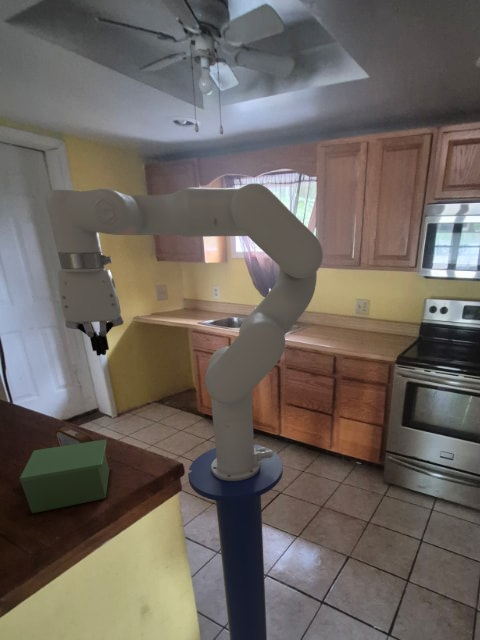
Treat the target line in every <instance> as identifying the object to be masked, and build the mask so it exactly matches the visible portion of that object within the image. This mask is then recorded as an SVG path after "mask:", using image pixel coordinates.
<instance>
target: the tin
mask: <svg viewBox="0 0 480 640" xmlns="http://www.w3.org/2000/svg"><path fill="white" fill-rule="evenodd" d="M54 434H55V437H56V440H57V442H58V447H60V446H66V445H73V444H79V443H86V442H92V441H95V439H94V438H93V437H92V436H91V435H90V434H89V433H87V432H85V431H82V430H80V429H78V428H75V427H74V426H71V425H68V424H66V425H64V426H63V427H60V428H59V429H57V430H56V431H55V433H54Z"/></svg>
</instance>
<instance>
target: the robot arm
mask: <svg viewBox="0 0 480 640" xmlns="http://www.w3.org/2000/svg"><path fill="white" fill-rule="evenodd" d="M44 197H45V198H44V199H45V204H46V209H47V212H48V218H49V222H50V226H51V230H52V234H53V238H54V239H53V240H54V243H55V247H56V252H57V255H58V260H59V263H60V264H59V265H60V268H61V270H58V273H57V276H58V289H59V295H60V297H59V298H60V302H61V308H62V313H63V317H64V319H65V327H66V328H67V329H71V330H72V329H73V330H79V331H80V332H82V333H83V334H85V335H86V336H87V337H89V340H90V345H91V349H92V352H95V354H96V356H97V357H99V356H101V355H102V356H106V355H107V351H109V350H110V346H109V341H108V336H107V335H108V333H109V332H110V331H111V330H112V329H113V328H115V327H119V326H122V325H123V324H124V319H123V316H122V315H121V305H120V301H119V296H118V292H117V288H116V284H115V281H114V278H113V274H112V273H111V270H110V269H107V268H106V265H109V264H113V259H112V256H111V255H110V256H107V255H105V254H104V253H103V250H102V245H101V244H102V243H101V240H100V235H99V234H105V235H111V236H182V237H186V238H193V237H195V238H198V237H200V238H201V237H203V238H204V237H205V238H206V237H210V238H211V237H248V238H249V239H250V241H252V242H253V243H254V244H255V245H256V246H257V247H258V248H259V249H260V250H262V252H264V254H266V255H267V256H268V257H269V258H270V259H271V260H272V261H273V262H274V263H275V264H276V265H277V266H278V267H279V273H278V277H277V280H276V282H275V283H274V285H273V286H272V288H271V289H270V290H269V292H268V293H267V295H266V296H265V297H264V298H263V299H262V300H261V302H260V303H259V304H258V305H257V306H256V308H254V310H253V311H252V312H251V313H250V314H249V315H248V316H247V317H246V318H245V319H244V320H243V321H242V323H241V325H240V327H239V329H238V330H239V331H238V336H237V337H236V338H235V339H234V341H232V343H230V344H229V345H228V346H223V347H220V348H218V349H216V351H215V352H214V351H213V353H212V355H211V356H210V358H209V360H208V363H207V368H206V373H205V379H204V384H205V390H206V392H207V394H208V395H209V396H210V401H211V403H210V404H211V415H212V424H213V435H214V446H215V448H216V457H217V458H216V459H215V460H214V461H213V462H212V465H211V470H212V473H213V475H214V476H215V477H217V478H219V479H222V480H225V481H240V480H245V479H248V478H250V477H252V476H254V475H255V474H256V473H257V472H258V471H259V470H260V468H261V459H264V458H271V457H273V453H272V451H273V450H272V449H270V450H268V451H265V448H264V447H265V446H263V448H259V449H256V448H254V445H255V441H254V440H255V439H254V421H253V419H254V418H253V399H252V398H253V395H252V391H253V390H254V389H256V387H257V386H258V385H259V384H260V383H261V382H262V380H264V379H265V377H266V376H267V375H268V374H269V373H270V372H271V371H272V369H274V367H275V366H276V365H277V364H278V362H279V361H280V359H281V358H282V356H283V354H284V352H285V348H286V337H285V336H286V334H287V333H288V332H289V331H290V330H291V328H293V326H294V325H295V323H296V322H297V321H298V320H299V319H300V317H302V315H303V314H304V312H305V311H306V310H307V308H308V307H309V305H310V303H311V302H312V299H313V296H314V294H315V291H316V286H317V278H318V277H317V275H318V272H317V271H318V270H319V269H320V267H321V265H322V263H323V258H324V257H323V256H324V252H323V247H322V244H321V242H320V240H319V239H318V237H317V236H316V235H315V234H314V233H313V232H312V231H311V230H310V229H309V228H308V227H307V226H306V225H305V224H304V222H302V221H301V220H300V219H299V218H298V217H297V216H296V215H295V214H294V213H293V212H292V211H291V210H290V209H289V208H288V207H287V206H286V205H285V204H284V203H283V202H282V201H281V199H279V198H278V196H276V195H275V194H274V192H273V191H271V190H270V188H268V187H266V186H265V185H263V184H261V183H256V182H251V183H246V184H244V185H242V186H240V187H186V188H181V189H178V190H177V191H174V192H172V193H167V194H166V193H165V194H146V195H145V194H125V193H122V192H121V191H119V190H118V191H117V190H114V189H112V188H111V189H110V188H98V189H97V188H96V189H91V190H81V191H80V190H73V189H51V190H48V191H47V192H46V193H45V196H44ZM98 322H99V332H98V333H97V331H95V328H94V325H93V323H98Z"/></svg>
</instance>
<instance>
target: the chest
mask: <svg viewBox="0 0 480 640" xmlns="http://www.w3.org/2000/svg"><path fill="white" fill-rule="evenodd" d="M109 477H110V466H109V462H108V459H107V454H106V453H105V455H104V461H103V466H102V467H101V468H95V469H90V470H84V471H78V472H73V473H67V474H61V475H56V476H50V477H44V478H39V479H33V480H27V481H22V482H21V481H20V483H21V486H22V490H23V492H24V495H25V497H26V501H27V503H28V506H29V510H30V513H31V514H36V513H40V512H46V511H51V510H56V509H60V508H65V507H71V506H76V505H80V504H84V503H85V504H86V503H89V502H94V501H100V500H104V499H106V497H107V490H108V484H109Z"/></svg>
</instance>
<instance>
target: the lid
mask: <svg viewBox="0 0 480 640" xmlns="http://www.w3.org/2000/svg"><path fill="white" fill-rule="evenodd" d="M107 444H108V442H107V438H106V439H100V440H94V441H92V442H86V443H79V444H73V445H66V446H54V447H47V448H41V449H34V450H33V451H32V453H31V455H30V458H29V459H28V461H27V462H26V465H25V467H24V468H23V471H22V473H21V475H20V476H19V481H20V483H21V482H22V481H27V480H33V479H39V478H44V477H50V476H56V475H61V474H67V473H73V472H78V471H84V470H90V469H95V468H101V467H102V466H103V461H104V455H105V454H106V448H107Z"/></svg>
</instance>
